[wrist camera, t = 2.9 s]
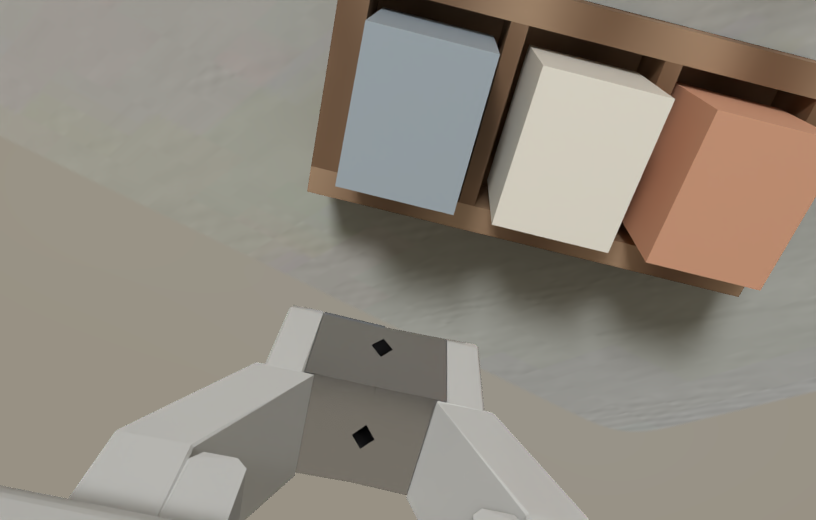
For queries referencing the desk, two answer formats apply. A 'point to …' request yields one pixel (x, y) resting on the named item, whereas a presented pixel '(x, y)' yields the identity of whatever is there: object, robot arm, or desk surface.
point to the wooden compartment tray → (574, 35)
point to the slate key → (415, 109)
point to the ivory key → (574, 148)
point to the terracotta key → (723, 187)
